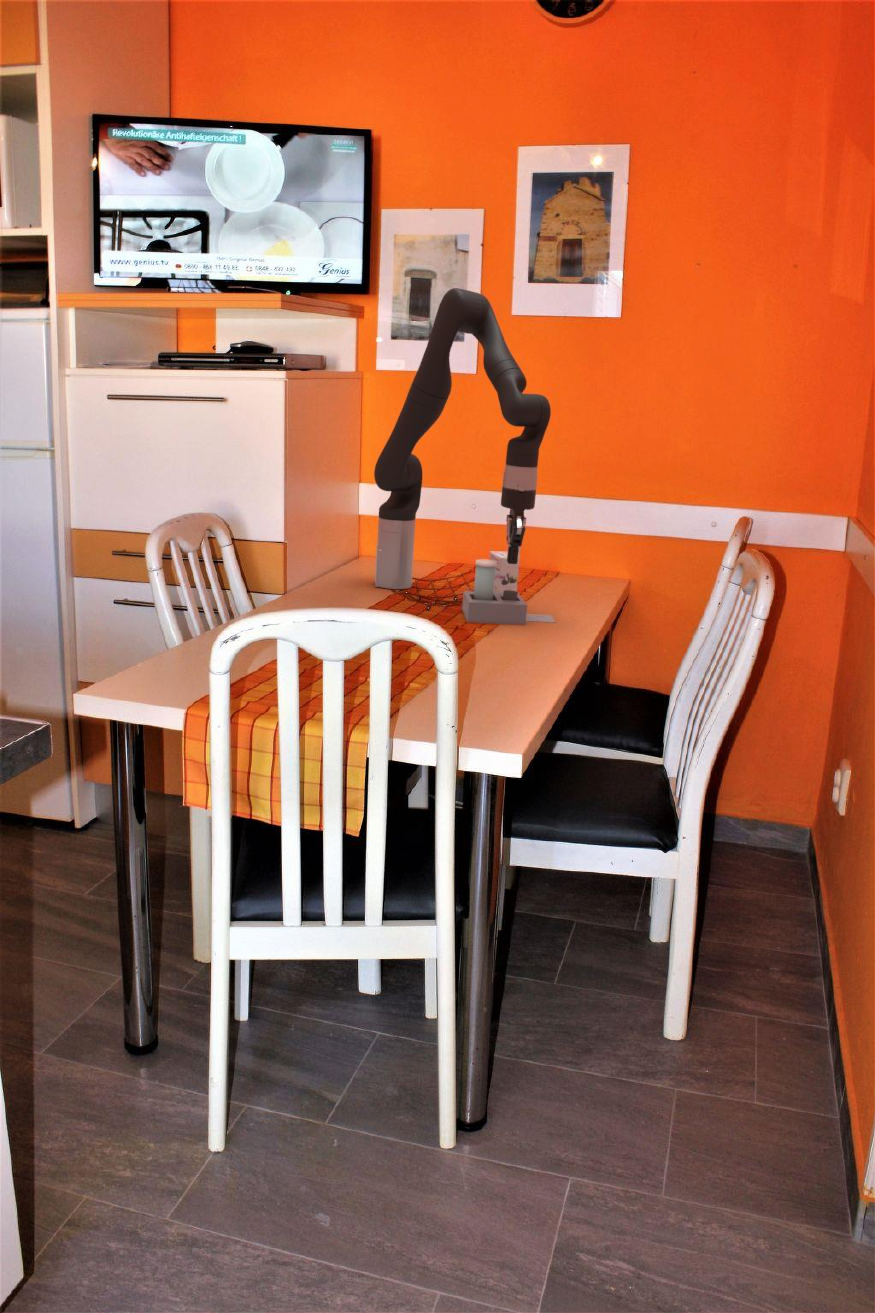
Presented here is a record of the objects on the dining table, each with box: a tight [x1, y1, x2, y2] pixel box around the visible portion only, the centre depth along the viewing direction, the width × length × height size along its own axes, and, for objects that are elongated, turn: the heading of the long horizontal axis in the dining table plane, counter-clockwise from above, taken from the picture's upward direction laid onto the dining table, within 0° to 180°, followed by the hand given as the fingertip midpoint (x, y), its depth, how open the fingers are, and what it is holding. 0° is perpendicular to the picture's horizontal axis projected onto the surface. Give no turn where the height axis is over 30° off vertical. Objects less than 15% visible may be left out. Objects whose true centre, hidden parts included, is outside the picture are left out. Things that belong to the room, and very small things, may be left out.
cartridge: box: [473, 558, 497, 600], centre depth 252 cm, size 5×5×13 cm
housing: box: [461, 590, 528, 626], centre depth 253 cm, size 13×12×5 cm
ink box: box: [489, 547, 521, 593], centre depth 272 cm, size 8×5×15 cm, turn 17°
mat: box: [526, 613, 556, 624], centre depth 256 cm, size 7×7×1 cm
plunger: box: [503, 590, 519, 601], centre depth 253 cm, size 3×3×6 cm
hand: (511, 563), depth 251 cm, fingers closed
